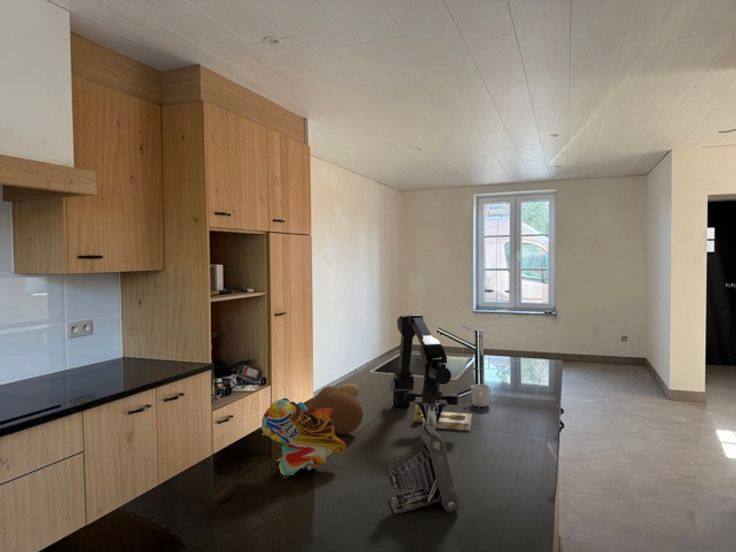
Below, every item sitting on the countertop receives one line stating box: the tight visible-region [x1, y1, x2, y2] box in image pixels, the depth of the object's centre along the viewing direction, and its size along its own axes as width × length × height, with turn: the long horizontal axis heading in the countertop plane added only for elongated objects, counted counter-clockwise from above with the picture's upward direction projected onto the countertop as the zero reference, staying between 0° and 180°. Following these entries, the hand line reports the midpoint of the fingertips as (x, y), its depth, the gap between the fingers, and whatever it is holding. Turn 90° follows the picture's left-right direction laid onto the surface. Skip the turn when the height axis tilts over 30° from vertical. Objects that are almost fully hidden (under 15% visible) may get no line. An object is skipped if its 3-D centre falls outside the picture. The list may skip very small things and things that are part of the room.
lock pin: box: [413, 404, 424, 423], centre depth 193 cm, size 6×3×6 cm, turn 74°
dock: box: [422, 411, 473, 431], centre depth 191 cm, size 17×12×2 cm
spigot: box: [426, 402, 439, 430], centre depth 182 cm, size 4×4×9 cm
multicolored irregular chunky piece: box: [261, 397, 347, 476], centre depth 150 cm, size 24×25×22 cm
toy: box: [307, 383, 364, 435], centre depth 182 cm, size 24×16×20 cm
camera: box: [388, 423, 460, 514], centre depth 127 cm, size 11×17×20 cm, turn 95°
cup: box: [470, 383, 491, 408], centre depth 213 cm, size 11×8×8 cm
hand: (431, 421), depth 182 cm, fingers closed on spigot, 4 cm apart
